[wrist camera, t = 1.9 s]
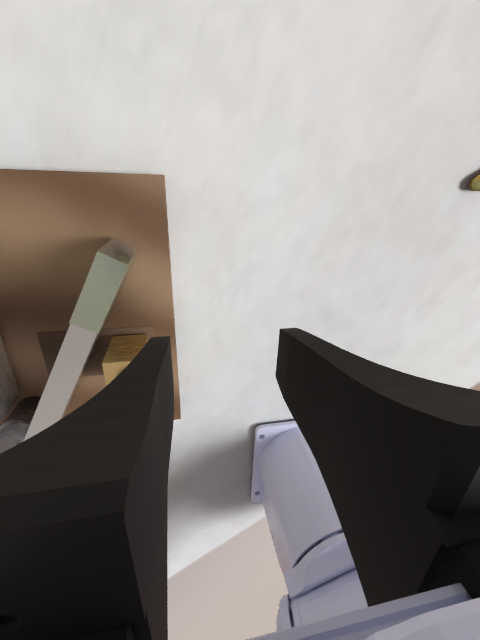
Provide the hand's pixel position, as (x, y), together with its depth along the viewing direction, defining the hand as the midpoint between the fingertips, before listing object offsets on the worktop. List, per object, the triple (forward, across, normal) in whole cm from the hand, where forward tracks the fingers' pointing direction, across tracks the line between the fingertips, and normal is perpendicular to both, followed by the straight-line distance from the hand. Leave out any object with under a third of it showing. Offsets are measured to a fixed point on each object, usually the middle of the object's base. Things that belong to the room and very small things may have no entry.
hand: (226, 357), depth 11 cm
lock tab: (+8, +5, +4) cm, 10 cm away
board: (+9, +8, +2) cm, 13 cm away
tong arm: (+8, +7, +2) cm, 11 cm away
